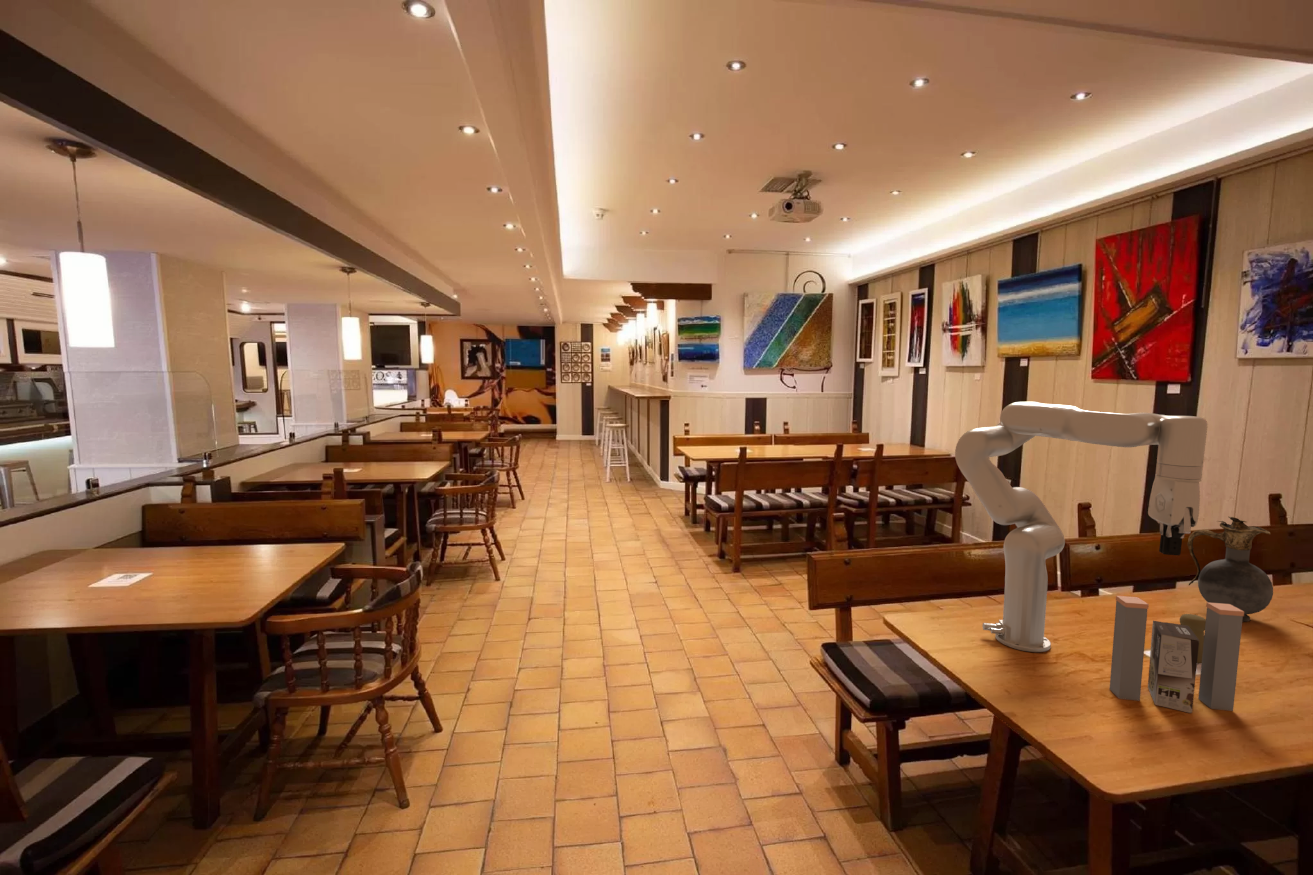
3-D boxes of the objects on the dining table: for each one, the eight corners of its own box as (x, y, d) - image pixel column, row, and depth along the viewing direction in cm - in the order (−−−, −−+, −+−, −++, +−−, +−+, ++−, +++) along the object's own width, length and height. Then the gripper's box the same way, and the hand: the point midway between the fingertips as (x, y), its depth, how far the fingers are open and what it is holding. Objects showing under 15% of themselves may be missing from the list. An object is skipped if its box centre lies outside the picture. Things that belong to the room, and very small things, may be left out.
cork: (1212, 664, 144) (1216, 621, 143) (1184, 662, 145) (1188, 619, 144) (1195, 653, 150) (1199, 611, 149) (1168, 651, 151) (1172, 610, 150)
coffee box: (1193, 714, 123) (1200, 640, 121) (1154, 705, 126) (1160, 633, 124) (1183, 694, 130) (1190, 625, 129) (1146, 686, 134) (1152, 618, 132)
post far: (1210, 708, 125) (1220, 609, 122) (1197, 698, 129) (1206, 602, 127) (1234, 711, 124) (1244, 611, 121) (1220, 700, 128) (1229, 604, 126)
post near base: (1118, 698, 129) (1126, 602, 127) (1108, 688, 133) (1116, 595, 131) (1140, 701, 128) (1148, 604, 126) (1130, 691, 132) (1137, 597, 130)
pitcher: (1263, 630, 163) (1274, 525, 160) (1175, 607, 179) (1184, 512, 176) (1274, 621, 169) (1285, 520, 166) (1188, 600, 185) (1197, 508, 182)
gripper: (1140, 466, 135) (1132, 543, 137) (1178, 477, 121) (1168, 563, 123) (1178, 467, 133) (1170, 545, 135) (1222, 479, 119) (1212, 566, 121)
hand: (1169, 553), depth 129 cm, fingers closed
